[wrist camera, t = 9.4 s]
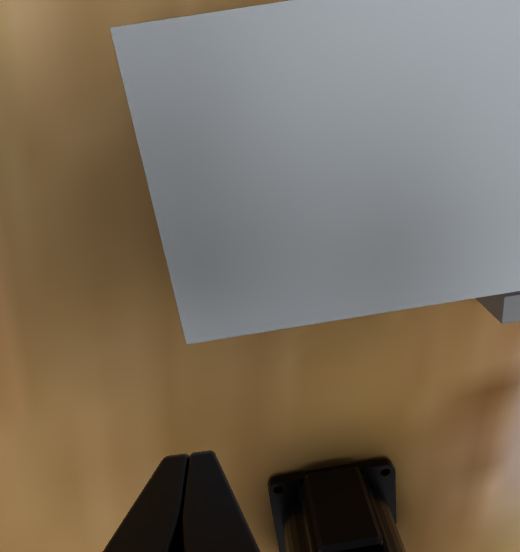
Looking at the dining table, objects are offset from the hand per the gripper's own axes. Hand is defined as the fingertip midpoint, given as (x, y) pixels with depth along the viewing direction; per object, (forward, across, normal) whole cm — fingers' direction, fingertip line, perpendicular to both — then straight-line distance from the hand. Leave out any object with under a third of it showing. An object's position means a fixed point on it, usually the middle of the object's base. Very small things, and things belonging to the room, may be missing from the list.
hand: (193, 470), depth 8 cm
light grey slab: (+12, -5, -2) cm, 13 cm away
